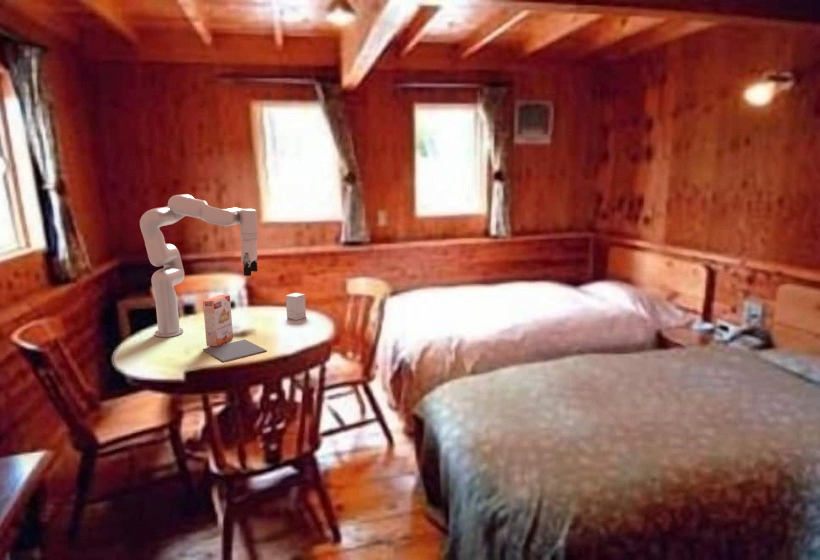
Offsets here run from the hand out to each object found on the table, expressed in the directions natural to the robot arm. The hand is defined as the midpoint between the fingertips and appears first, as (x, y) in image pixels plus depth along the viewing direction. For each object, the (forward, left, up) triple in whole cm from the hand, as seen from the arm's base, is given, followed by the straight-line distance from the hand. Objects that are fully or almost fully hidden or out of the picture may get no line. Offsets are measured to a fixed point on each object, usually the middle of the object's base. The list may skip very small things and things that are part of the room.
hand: (250, 273), depth 258 cm
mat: (+11, -15, -31) cm, 36 cm away
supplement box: (-16, +33, -31) cm, 48 cm away
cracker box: (-3, -15, -31) cm, 34 cm away
